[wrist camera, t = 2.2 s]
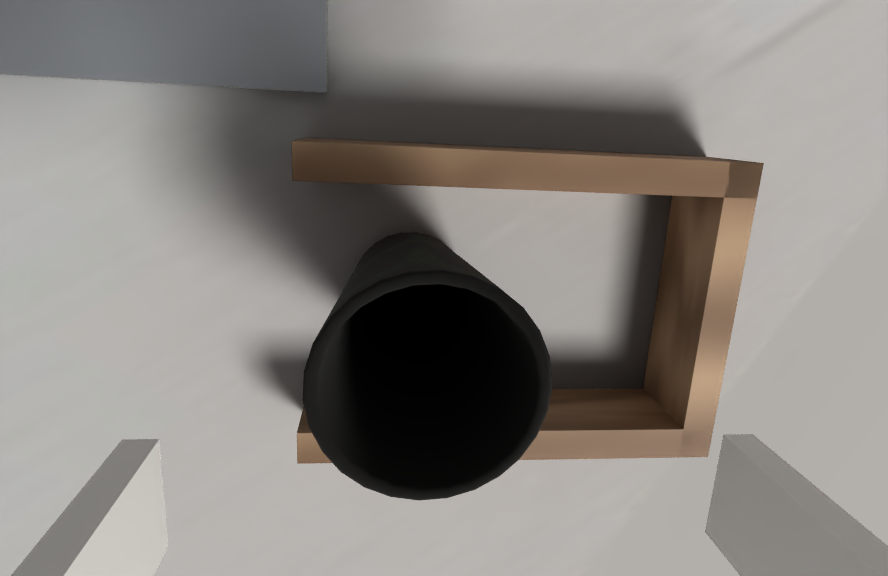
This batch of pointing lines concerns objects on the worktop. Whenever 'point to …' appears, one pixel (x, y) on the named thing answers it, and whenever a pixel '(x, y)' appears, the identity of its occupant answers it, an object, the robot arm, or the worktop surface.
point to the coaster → (169, 42)
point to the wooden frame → (679, 292)
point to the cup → (425, 374)
